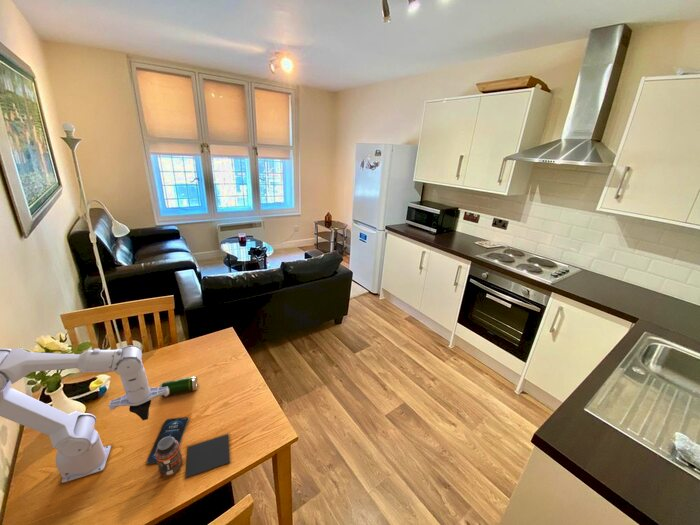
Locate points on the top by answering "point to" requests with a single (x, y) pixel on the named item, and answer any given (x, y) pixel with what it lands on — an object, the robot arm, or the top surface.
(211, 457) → the mat
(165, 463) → the supplement bottle
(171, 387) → the beer can
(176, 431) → the smartphone
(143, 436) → the top surface
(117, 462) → the top surface
